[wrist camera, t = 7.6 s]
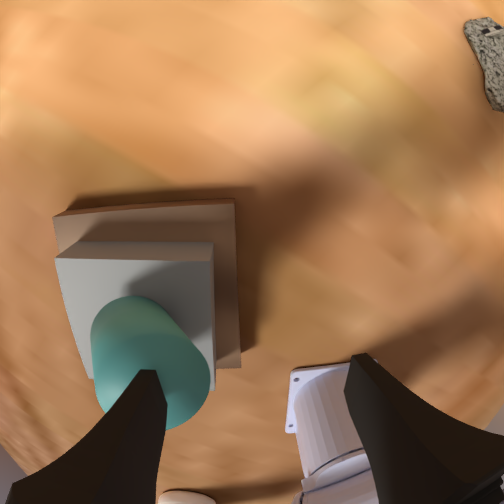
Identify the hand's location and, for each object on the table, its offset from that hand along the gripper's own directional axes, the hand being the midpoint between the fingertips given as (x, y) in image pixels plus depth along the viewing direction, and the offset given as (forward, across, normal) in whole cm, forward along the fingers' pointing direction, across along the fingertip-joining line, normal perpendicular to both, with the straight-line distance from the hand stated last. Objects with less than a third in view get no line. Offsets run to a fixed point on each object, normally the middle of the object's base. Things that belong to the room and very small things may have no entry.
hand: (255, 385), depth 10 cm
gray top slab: (+9, +6, +2) cm, 11 cm away
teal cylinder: (+5, +6, +1) cm, 8 cm away
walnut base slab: (+12, +6, +1) cm, 13 cm away
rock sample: (+11, -20, -21) cm, 31 cm away
